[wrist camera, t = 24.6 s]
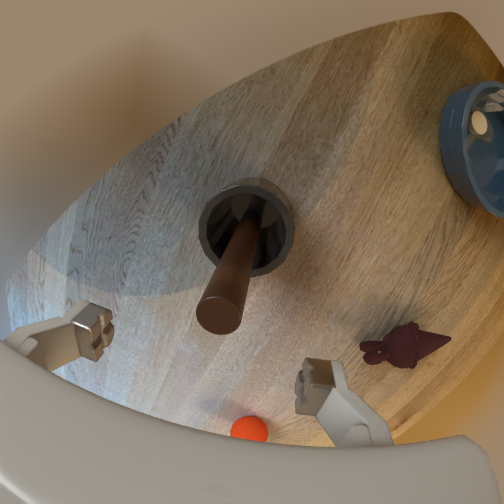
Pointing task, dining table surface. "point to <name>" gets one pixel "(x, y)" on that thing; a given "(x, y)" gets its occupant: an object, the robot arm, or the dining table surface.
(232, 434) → the clementine
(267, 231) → the holder
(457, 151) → the bowl
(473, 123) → the dough
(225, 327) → the stick
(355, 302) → the dining table surface
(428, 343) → the icecream
